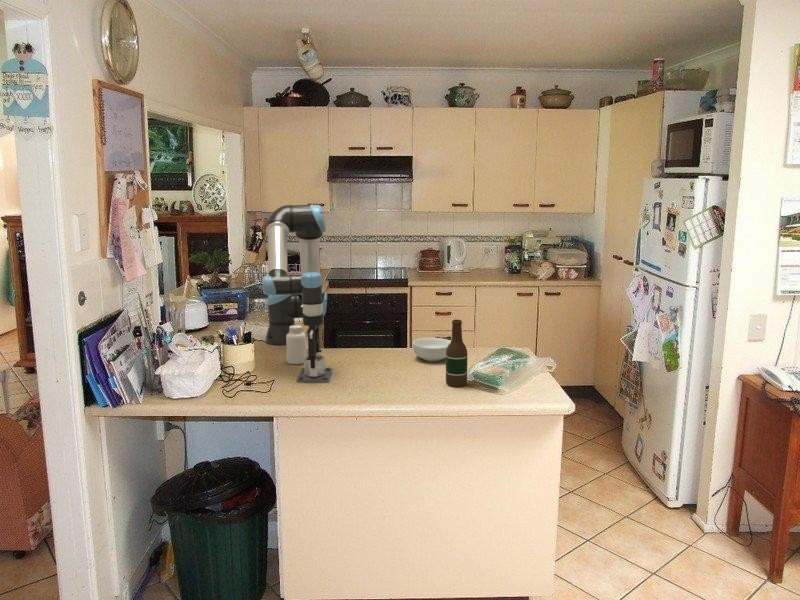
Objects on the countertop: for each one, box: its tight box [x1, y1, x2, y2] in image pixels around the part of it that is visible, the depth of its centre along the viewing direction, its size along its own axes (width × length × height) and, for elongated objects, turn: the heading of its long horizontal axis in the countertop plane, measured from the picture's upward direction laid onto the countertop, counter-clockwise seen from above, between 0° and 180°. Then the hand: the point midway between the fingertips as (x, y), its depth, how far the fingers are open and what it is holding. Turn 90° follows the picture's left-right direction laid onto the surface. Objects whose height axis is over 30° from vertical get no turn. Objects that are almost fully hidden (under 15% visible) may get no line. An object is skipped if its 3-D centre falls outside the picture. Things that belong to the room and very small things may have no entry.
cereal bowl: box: [412, 337, 451, 362], centre depth 262 cm, size 17×17×7 cm
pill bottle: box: [286, 324, 308, 365], centre depth 259 cm, size 8×8×15 cm
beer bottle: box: [445, 319, 468, 388], centre depth 229 cm, size 8×8×24 cm
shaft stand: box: [296, 366, 334, 384], centre depth 241 cm, size 14×12×6 cm
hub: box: [303, 355, 326, 377], centre depth 241 cm, size 8×8×6 cm
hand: (315, 372), depth 242 cm, fingers open, 8 cm apart
